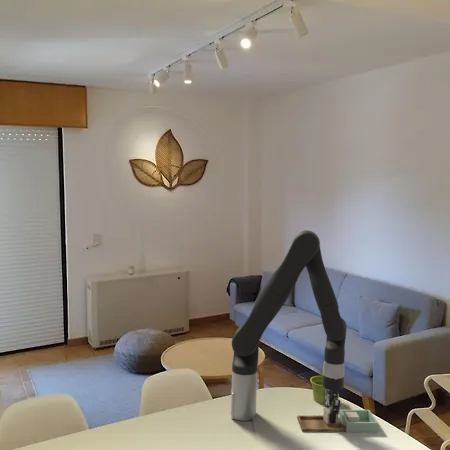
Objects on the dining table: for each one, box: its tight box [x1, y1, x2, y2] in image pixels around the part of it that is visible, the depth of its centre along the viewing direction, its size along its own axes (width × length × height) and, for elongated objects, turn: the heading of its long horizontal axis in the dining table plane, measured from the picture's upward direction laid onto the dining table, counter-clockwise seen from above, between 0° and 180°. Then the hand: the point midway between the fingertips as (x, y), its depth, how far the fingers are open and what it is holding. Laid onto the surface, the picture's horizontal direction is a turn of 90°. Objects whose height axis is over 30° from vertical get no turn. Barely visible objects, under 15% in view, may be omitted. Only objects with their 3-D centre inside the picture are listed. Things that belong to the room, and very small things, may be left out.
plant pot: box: [310, 375, 326, 404], centre depth 203 cm, size 9×9×9 cm
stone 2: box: [345, 412, 359, 422], centre depth 183 cm, size 4×4×4 cm
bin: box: [338, 409, 379, 433], centre depth 183 cm, size 11×10×4 cm
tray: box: [296, 415, 346, 433], centre depth 183 cm, size 15×10×2 cm, turn 92°
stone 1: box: [322, 407, 339, 424], centre depth 183 cm, size 4×4×4 cm
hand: (330, 419), depth 183 cm, fingers closed on stone 1, 4 cm apart
